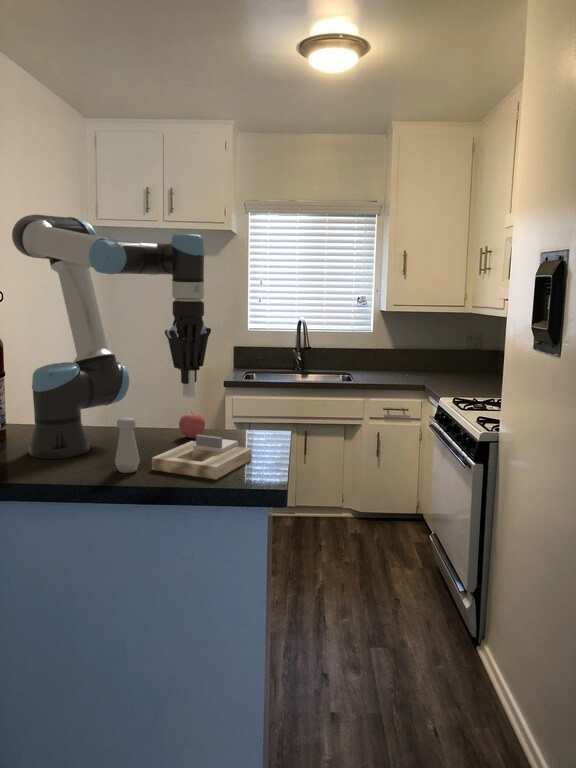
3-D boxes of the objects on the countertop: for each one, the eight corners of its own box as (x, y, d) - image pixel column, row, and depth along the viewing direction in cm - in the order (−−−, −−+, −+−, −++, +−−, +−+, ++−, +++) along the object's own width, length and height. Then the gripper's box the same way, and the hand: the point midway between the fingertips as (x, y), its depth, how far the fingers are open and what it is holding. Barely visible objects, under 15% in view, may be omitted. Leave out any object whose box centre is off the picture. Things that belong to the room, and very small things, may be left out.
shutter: (193, 448, 160) (192, 435, 160) (210, 441, 168) (209, 428, 167) (222, 452, 157) (221, 439, 156) (238, 444, 165) (237, 431, 164)
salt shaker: (127, 475, 148) (125, 422, 146) (110, 471, 151) (108, 418, 149) (145, 469, 153) (143, 417, 151) (128, 465, 156) (126, 414, 154)
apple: (191, 442, 179) (191, 415, 177) (174, 438, 183) (173, 411, 182) (210, 437, 184) (210, 410, 183) (193, 433, 189) (192, 407, 188)
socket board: (152, 469, 153) (151, 457, 152) (191, 451, 169) (191, 440, 168) (216, 479, 146) (216, 467, 145) (251, 459, 162) (251, 448, 161)
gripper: (176, 301, 144) (177, 402, 148) (218, 300, 153) (218, 394, 157) (156, 299, 148) (158, 397, 152) (198, 299, 158) (198, 390, 162)
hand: (188, 396), depth 155 cm, fingers closed
